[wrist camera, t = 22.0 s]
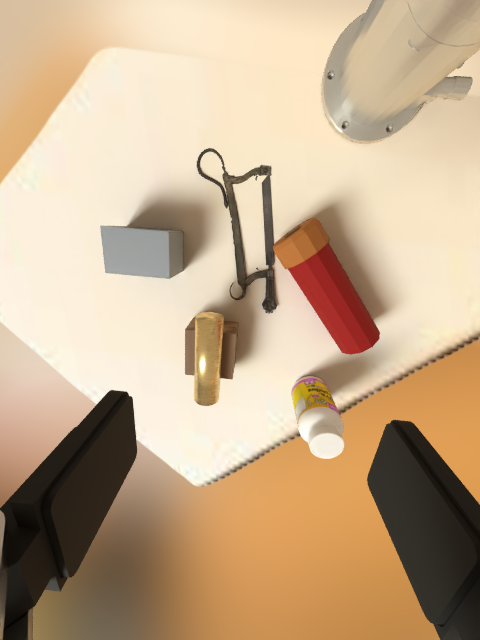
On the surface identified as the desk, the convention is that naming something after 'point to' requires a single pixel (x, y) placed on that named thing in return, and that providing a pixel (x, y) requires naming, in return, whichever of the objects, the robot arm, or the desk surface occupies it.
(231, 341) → the v block
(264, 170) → the hacksaw
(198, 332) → the axle
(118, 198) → the desk surface
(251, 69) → the desk surface
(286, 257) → the shell casing
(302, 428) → the supplement bottle
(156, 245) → the grey hollow block
